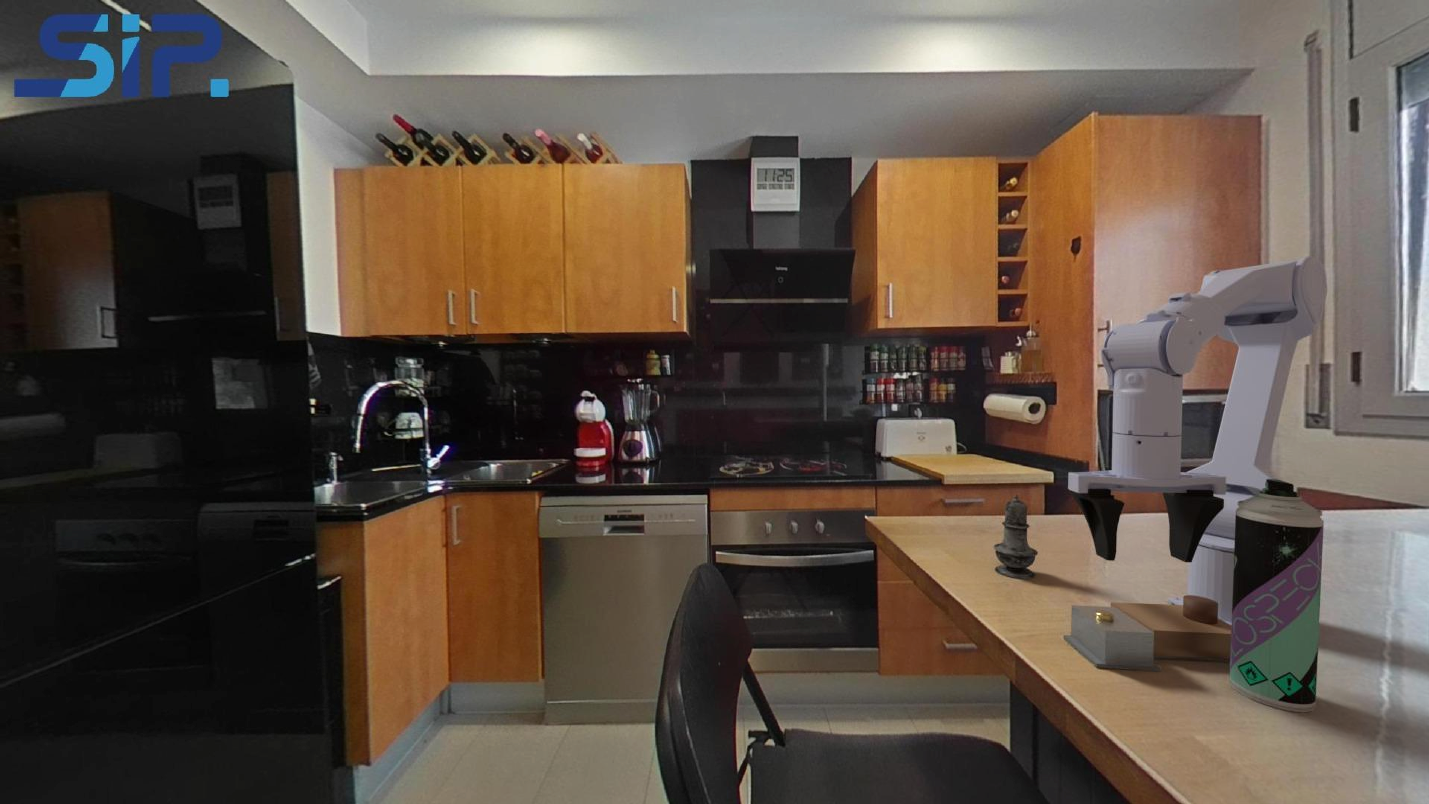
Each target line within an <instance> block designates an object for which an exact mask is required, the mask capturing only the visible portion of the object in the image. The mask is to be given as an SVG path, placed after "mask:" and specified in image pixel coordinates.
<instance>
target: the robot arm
mask: <svg viewBox="0 0 1429 804" xmlns="http://www.w3.org/2000/svg"><path fill="white" fill-rule="evenodd" d="M1327 294H1328V284H1327V274H1326V269H1325V266H1324V265H1323V263H1322V262H1321V261H1320V260H1318V259H1317V258H1316V257H1314V256H1309V255H1308V256H1303V257H1301V258H1299V259H1292V260H1286V261H1285V260H1284V261H1278V262H1271V263H1266V264H1259V265H1252V266H1246V267H1239V268H1233V269H1225V270H1220V269H1218V270H1217V269H1216V270H1213V271H1210V272H1209V273H1208V274H1206V275H1204V276H1203V279H1202V284H1201V287H1200V290H1199V291H1198V292H1197V293H1190V292H1189V291H1187V292H1186V291H1185V292H1179V293H1173V294H1171V295H1170V296H1168V297H1167V301H1168V302H1166V303H1165V304H1163V305H1162V306H1160V307H1159V308H1158V309H1155V310H1150V311H1149V312H1147V313H1146V314H1145V317H1143V318H1142V319H1140V320H1138V322H1136V323H1135V322H1134V323H1124V324H1120V325H1117V326H1116V327H1115V328H1114V329H1112V330H1111V331H1109V332H1108V334H1107V335H1106V336H1105V338H1104V341H1103V345H1102V346H1103V347H1102V348H1101V349H1100V357H1101V363H1102V366H1103V367H1104V369H1105V371H1106V376H1107V377H1106V378H1107V379H1106V380H1107V381H1106V382H1107V383H1106V384H1107V385H1106V386H1108V389H1109V391H1112V392H1113V394H1112V395H1113V397H1112V400H1113V401H1112V435H1111V436H1112V438H1111V440H1112V442H1111V443H1112V446H1111V447H1112V448H1111V470H1109V469H1108V470H1098V471H1083V472H1082V471H1081V472H1080V471H1079V472H1077V471H1076V472H1074V471H1073V472H1068V477H1067V479H1068V482H1067V483H1068V484H1067V489H1068V490H1069V491H1072V496H1073V498H1074V500H1075V502H1076V503H1077V505H1078V507H1079V509H1080V511H1081V512H1082V514H1083V516H1084V518H1085V520H1086V523H1087V525H1088V528H1089V531H1090V534H1091V537H1092V542H1093V544H1094V549H1095V554H1096V556H1098V557H1100V558H1102V559H1104V560H1106V561H1108V562H1109V561H1111V562H1113V561H1115V559H1116V555H1117V545H1118V543H1117V540H1118V537H1117V536H1118V527H1119V523H1120V519H1121V515H1122V512H1123V509H1124V507H1125V502H1124V501H1122V500H1119V499H1117V498H1115V495H1114V494H1112V493H1158V494H1159V493H1162V496H1163V499H1164V503H1165V507H1166V511H1167V512H1166V513H1167V516H1168V517H1167V518H1168V524H1169V525H1168V528H1169V531H1168V532H1169V533H1168V535H1169V537H1168V539H1169V540H1168V548H1169V553H1170V557H1173V558H1174V559H1177V560H1180V561H1181V562H1184V563H1187V585H1186V587H1187V588H1186V589H1187V592H1186V595H1193V596H1200V597H1204V598H1208V599H1211V600H1213V601H1215V602H1217V603H1218V618H1219V619H1220V620H1222V621H1224V622H1226V623H1228V624H1230V625H1232V598H1233V572H1234V546H1235V519H1236V509H1237V508H1239V506H1238V501H1242V500H1246V499H1248V498H1251V497H1254V496H1257V492H1258V491H1262V489H1263V488H1266V487H1265V483H1266V479H1276V480H1280V479H1279V478H1278V477H1276V476H1275V475H1274V474H1272V473H1271V472H1269V471H1268V468H1269V463H1270V459H1271V456H1272V455H1271V454H1272V449H1273V445H1274V440H1275V437H1276V432H1277V428H1278V424H1279V419H1280V414H1281V411H1282V406H1283V401H1284V397H1285V394H1286V389H1287V383H1288V380H1289V375H1290V372H1291V367H1292V362H1293V359H1294V356H1295V352H1296V348H1297V346H1298V343H1299V341H1300V340H1303V339H1305V338H1306V337H1309V336H1311V335H1313V334H1315V333H1317V331H1318V328H1319V323H1321V321H1322V316H1323V312H1324V309H1325V304H1326V299H1327ZM1216 335H1218V336H1217V337H1218V338H1219V339H1222V340H1224V341H1227V342H1231V343H1232V344H1236V345H1237V347H1238V351H1237V354H1236V360H1235V364H1234V367H1233V372H1232V376H1231V380H1230V383H1229V388H1228V393H1227V397H1226V401H1225V404H1224V405H1225V406H1224V409H1223V413H1222V418H1221V422H1220V427H1219V431H1218V434H1217V438H1216V442H1215V447H1214V450H1213V455H1212V457H1211V458H1212V459H1211V461H1209V462H1207V463H1204V464H1202V465H1200V466H1198V467H1196V468H1193V469H1191V470H1188V471H1186V472H1184V471H1182V472H1181V469H1182V467H1181V465H1182V463H1181V461H1182V432H1183V431H1182V427H1183V424H1182V423H1183V391H1184V387H1183V386H1184V384H1183V383H1184V375H1185V374H1187V373H1191V372H1192V370H1193V368H1194V366H1195V363H1196V361H1197V357H1198V355H1199V354H1200V353H1201V351H1202V348H1203V345H1205V344H1206V343H1208V342H1209V341H1210V340H1211V339H1213V338H1214V337H1216ZM1167 599H1168V602H1170V603H1171V604H1172V605H1183V597H1175V596H1173V597H1172V596H1171V597H1168V598H1167Z"/></svg>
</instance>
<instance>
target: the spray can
mask: <svg viewBox="0 0 1429 804" xmlns="http://www.w3.org/2000/svg"><path fill="white" fill-rule="evenodd" d="M1265 487H1266V488H1263V489H1262V491H1258V492H1257V496H1254V497H1251V498H1248V499H1246V500H1242V501H1238V506H1239V508H1237V509H1236V519H1235V546H1234V572H1233V598H1232V625H1231V651H1230V662H1229V684H1230V686H1231V687H1232V688H1233V690H1235V691H1236V692H1238V694H1241V695H1243V696H1245V697H1246V698H1248V699H1251V700H1253V701H1256V702H1257V703H1260V704H1263V705H1266V706H1269V707H1272V708H1276V709H1280V710H1284V711H1290V712H1297V713H1308V711H1310V712H1312V711H1314V710H1315V709H1314V708H1316V703H1317V702H1316V700H1317V682H1318V681H1317V678H1318V658H1319V657H1318V656H1319V638H1320V637H1319V635H1320V634H1319V633H1320V618H1321V617H1320V615H1321V613H1320V610H1321V594H1322V593H1321V589H1322V568H1323V566H1322V564H1323V550H1324V549H1323V546H1324V524H1325V523H1324V520H1323V519H1322V518H1321V517H1322V516H1323V511H1322V510H1320V509H1317V508H1315V507H1313V506H1312V505H1310V504H1308V503H1307V502H1305V501H1303V500H1302V498H1303V497H1302V495H1299V494H1298V492H1297V491H1295V490H1294V489H1295V488H1294V487H1295V486H1294V484H1293V483H1291V482H1290V483H1289V482H1287V481H1284V480H1281V479H1279V480H1276V479H1266V483H1265Z"/></svg>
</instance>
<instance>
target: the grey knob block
mask: <svg viewBox="0 0 1429 804" xmlns="http://www.w3.org/2000/svg"><path fill="white" fill-rule="evenodd" d="M1070 621H1071V623H1070V624H1071V625H1070V635H1071V636H1072V637H1073V638H1074V639H1075V640H1076V641H1078V642H1079V643H1080V644H1081V645H1082V646H1083V647H1085V648H1086V649H1087V650H1088V651H1089V652H1091V653H1092V654H1093V655H1094V656H1095V657H1096V658H1098V659H1099V660H1100V661H1101V662H1102V663H1103V664H1105V665H1122V666H1141V667H1153V662H1154V658H1153V648H1154V633H1153V632H1152V631H1150V630H1149V629H1147V628H1146V627H1144V626H1143V625H1141V624H1140V623H1138V622H1137V621H1135V620H1134V619H1132V618H1131V617H1129V616H1128V615H1126V614H1125V613H1123V612H1121V611H1120V610H1118V609H1117V608H1115V607H1111V606H1099V605H1098V606H1097V605H1095V606H1094V605H1077V604H1076V605H1074V604H1073V605H1071V619H1070Z"/></svg>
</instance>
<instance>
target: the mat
mask: <svg viewBox="0 0 1429 804" xmlns="http://www.w3.org/2000/svg"><path fill="white" fill-rule="evenodd" d="M1063 639H1064V640H1065V641H1066V642H1067V643H1068V644H1069V645H1070V644H1071V645H1072V646H1071V645H1070V646H1071V647H1073V648H1074V649H1075V648H1076V649H1075V650H1076V651H1077V650H1078V651H1077V652H1078V653H1079V652H1080V653H1079V654H1081V656H1083V657H1084V659H1086V658H1087V659H1088V660H1089V661H1088V660H1087V659H1086V660H1087V661H1088V662H1090V663H1091V662H1092V663H1091V664H1092V665H1093V664H1094V665H1095V666H1094V665H1093V666H1094V667H1095V668H1096V667H1098V669H1118V670H1119V669H1120V670H1133V671H1134V670H1135V671H1141V670H1142V671H1154V672H1158V671H1159V672H1161V671H1162V669H1161V668H1162V667H1161V666H1160V665H1158V664H1157V663H1156V662H1155V661H1153V667H1141V666H1122V665H1105V664H1103V663H1102V662H1101V661H1100V660H1099V659H1098V658H1096V657H1095V656H1094V655H1093V654H1092V653H1091V652H1089V651H1088V650H1087V649H1086V648H1085V647H1083V646H1082V645H1081V644H1080V643H1079V642H1078V641H1076V640H1075V639H1074V638H1073V637H1072V636H1071V634H1070V635H1069V634H1068V635H1067V634H1063Z"/></svg>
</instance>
